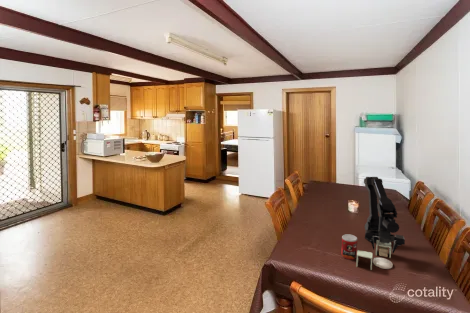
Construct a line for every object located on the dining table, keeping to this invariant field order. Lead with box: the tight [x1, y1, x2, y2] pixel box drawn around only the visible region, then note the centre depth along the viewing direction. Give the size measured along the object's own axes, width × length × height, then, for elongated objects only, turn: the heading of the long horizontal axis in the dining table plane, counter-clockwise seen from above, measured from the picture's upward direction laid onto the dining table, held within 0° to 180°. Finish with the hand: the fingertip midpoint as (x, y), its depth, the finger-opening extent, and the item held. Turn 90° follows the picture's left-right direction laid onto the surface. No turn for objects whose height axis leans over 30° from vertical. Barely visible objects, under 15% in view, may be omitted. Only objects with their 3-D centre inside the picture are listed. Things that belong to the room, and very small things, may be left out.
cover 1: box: [355, 249, 373, 271], centre depth 136 cm, size 6×7×6 cm
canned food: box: [340, 233, 358, 260], centre depth 145 cm, size 8×8×11 cm
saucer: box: [372, 257, 394, 270], centre depth 137 cm, size 9×9×1 cm
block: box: [378, 246, 389, 258], centre depth 146 cm, size 4×4×4 cm
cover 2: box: [375, 240, 392, 259], centre depth 146 cm, size 6×7×6 cm
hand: (383, 251), depth 146 cm, fingers open, 9 cm apart
